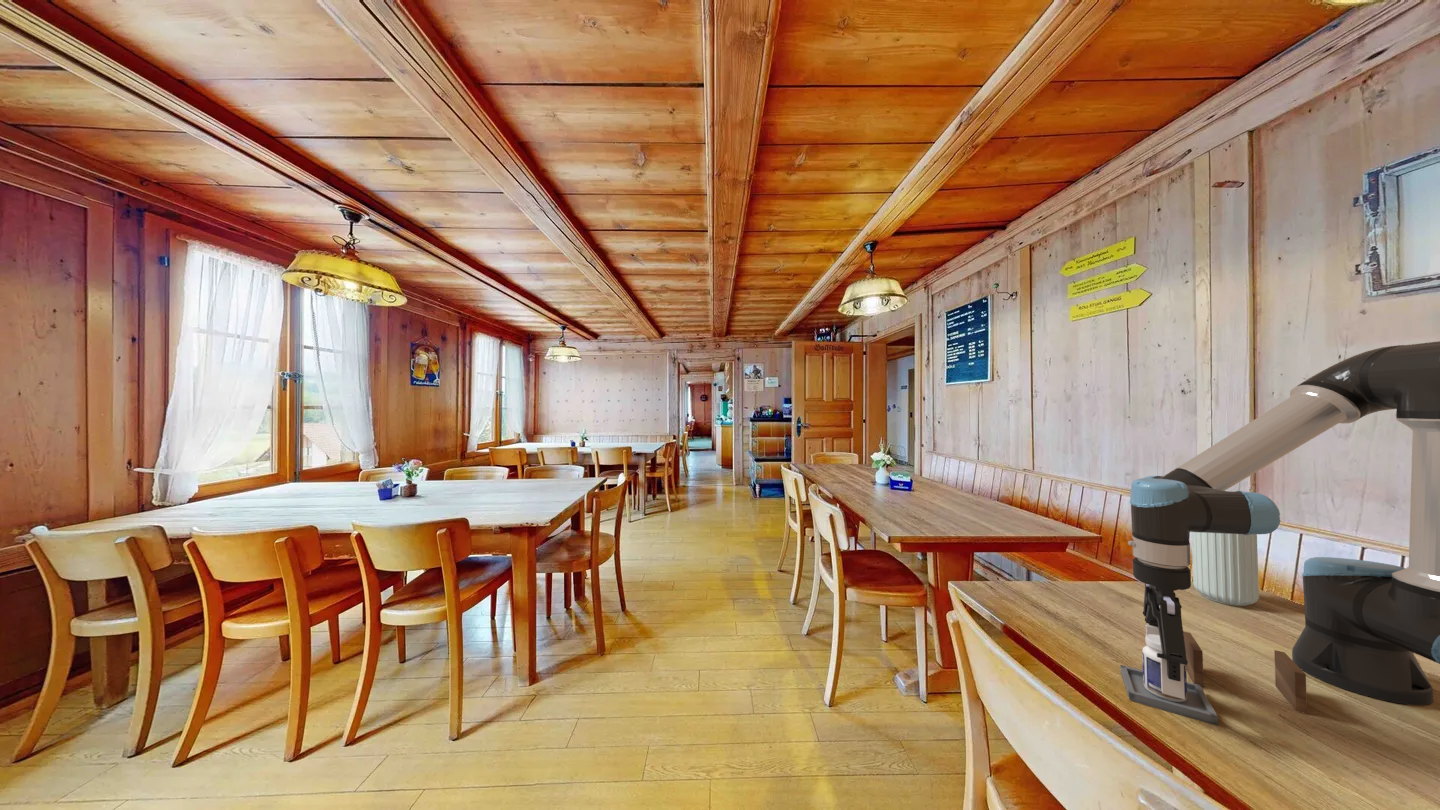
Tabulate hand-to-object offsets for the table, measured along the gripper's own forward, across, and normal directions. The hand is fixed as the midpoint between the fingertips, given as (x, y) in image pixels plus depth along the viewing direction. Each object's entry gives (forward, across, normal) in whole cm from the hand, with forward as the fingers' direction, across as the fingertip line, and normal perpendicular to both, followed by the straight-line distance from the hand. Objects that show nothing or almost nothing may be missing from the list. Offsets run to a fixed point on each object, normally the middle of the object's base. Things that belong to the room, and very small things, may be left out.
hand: (1164, 676), depth 79 cm
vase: (+4, -62, +22) cm, 65 cm away
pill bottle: (+3, 0, 0) cm, 3 cm away
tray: (+4, 0, 0) cm, 4 cm away
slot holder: (+4, -12, +12) cm, 17 cm away
